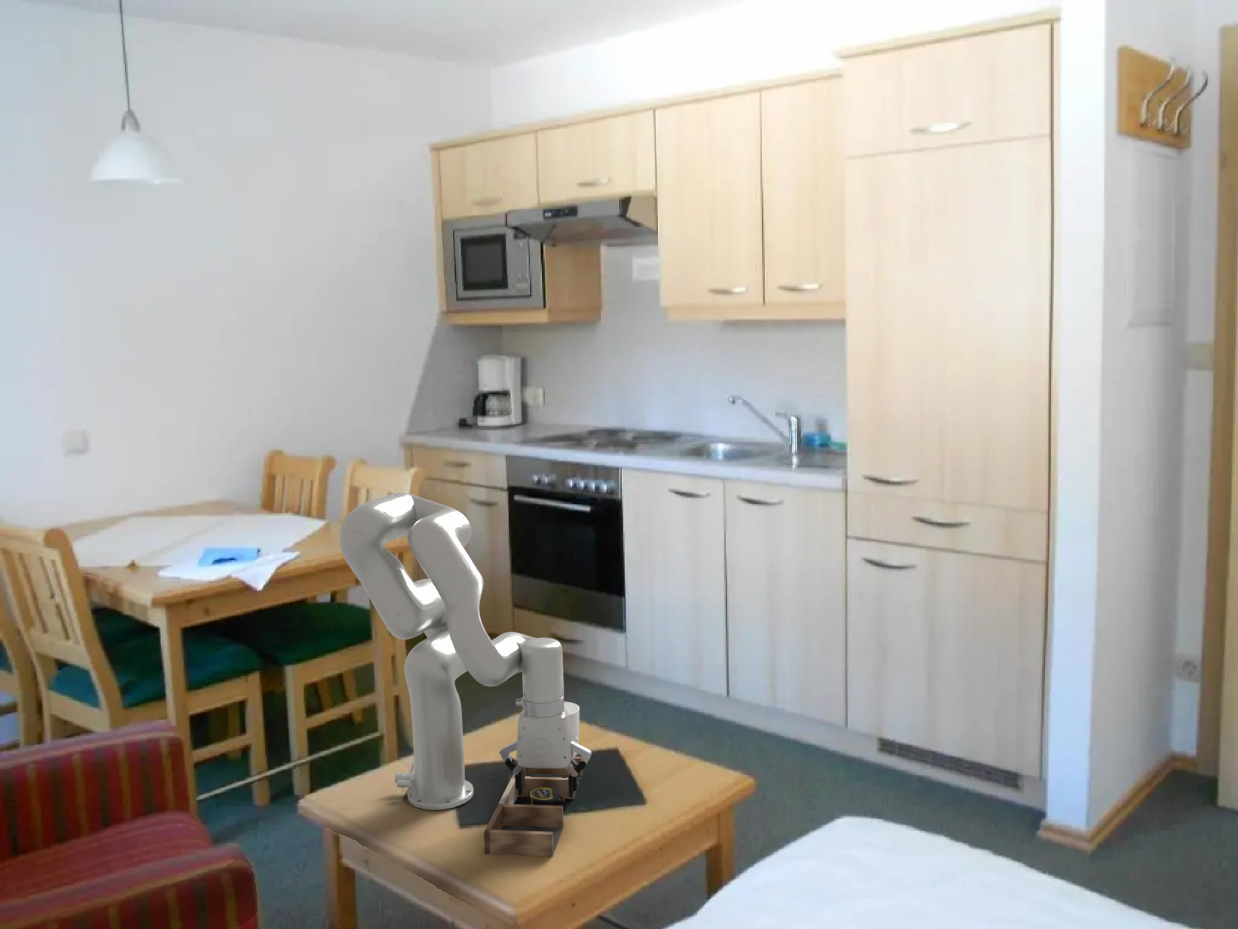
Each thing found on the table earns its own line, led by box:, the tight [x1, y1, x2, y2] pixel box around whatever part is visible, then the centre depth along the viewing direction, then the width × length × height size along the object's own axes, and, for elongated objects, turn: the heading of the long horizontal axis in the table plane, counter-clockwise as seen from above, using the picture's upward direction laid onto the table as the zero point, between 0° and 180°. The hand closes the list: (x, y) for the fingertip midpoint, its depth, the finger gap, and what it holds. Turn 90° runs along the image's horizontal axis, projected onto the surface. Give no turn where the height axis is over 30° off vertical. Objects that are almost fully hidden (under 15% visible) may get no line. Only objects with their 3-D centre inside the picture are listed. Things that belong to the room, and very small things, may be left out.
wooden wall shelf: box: [483, 755, 583, 857], centre depth 214 cm, size 12×33×4 cm, turn 173°
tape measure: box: [526, 786, 567, 813], centre depth 214 cm, size 7×7×4 cm
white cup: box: [564, 701, 580, 756], centre depth 240 cm, size 8×8×10 cm
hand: (546, 793), depth 213 cm, fingers open, 9 cm apart
